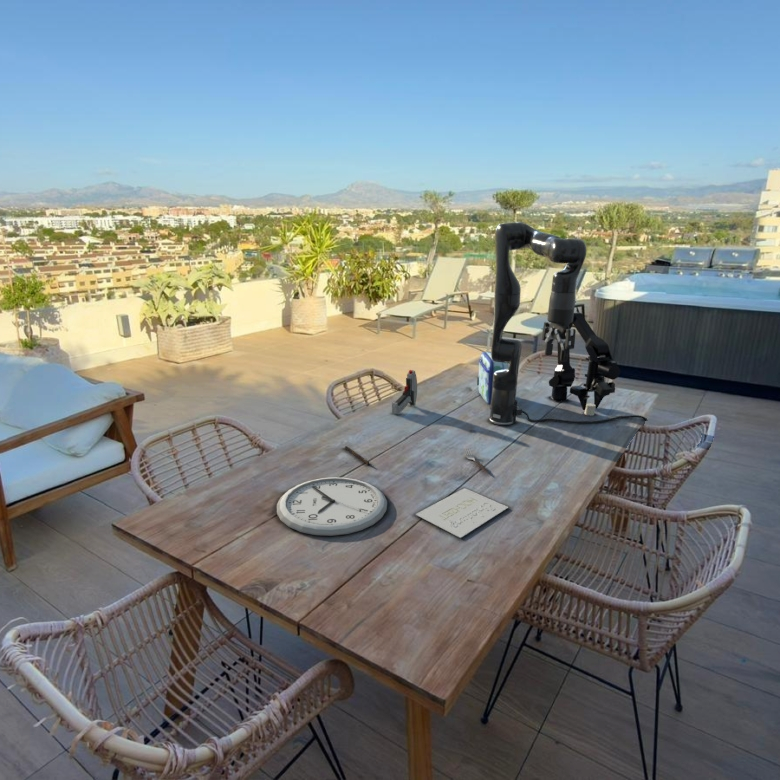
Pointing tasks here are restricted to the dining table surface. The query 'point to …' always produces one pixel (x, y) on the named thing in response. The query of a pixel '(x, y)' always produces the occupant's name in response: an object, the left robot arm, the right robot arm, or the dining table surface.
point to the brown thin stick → (357, 455)
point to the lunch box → (488, 375)
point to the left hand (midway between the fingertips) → (555, 358)
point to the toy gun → (407, 394)
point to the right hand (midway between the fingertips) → (589, 409)
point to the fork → (474, 459)
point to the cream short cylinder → (590, 409)
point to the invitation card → (461, 512)
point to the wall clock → (331, 506)
